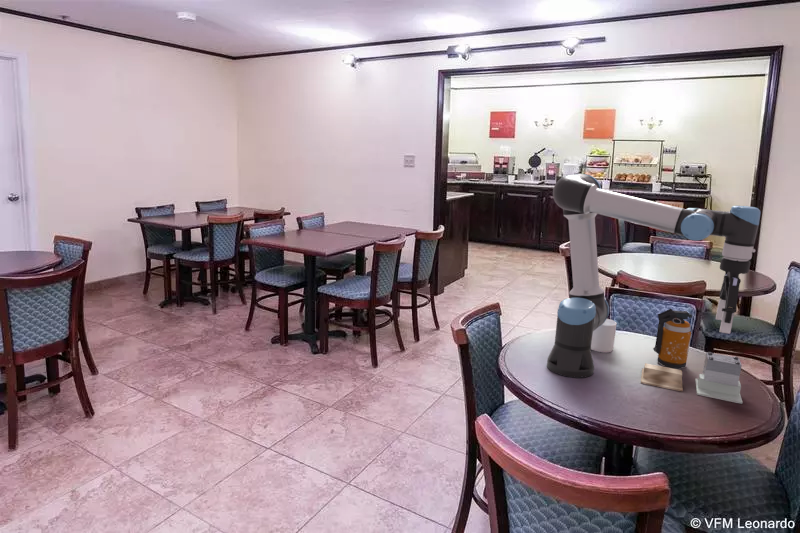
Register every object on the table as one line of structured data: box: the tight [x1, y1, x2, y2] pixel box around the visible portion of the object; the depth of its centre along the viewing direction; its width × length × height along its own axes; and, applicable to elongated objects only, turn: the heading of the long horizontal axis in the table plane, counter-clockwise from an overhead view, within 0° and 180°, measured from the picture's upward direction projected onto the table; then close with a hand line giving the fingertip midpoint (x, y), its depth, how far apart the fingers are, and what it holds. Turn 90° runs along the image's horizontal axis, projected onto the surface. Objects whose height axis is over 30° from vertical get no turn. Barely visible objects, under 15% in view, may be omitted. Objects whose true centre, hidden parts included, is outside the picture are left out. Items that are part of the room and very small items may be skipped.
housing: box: [702, 351, 742, 387], centre depth 167 cm, size 9×6×7 cm
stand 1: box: [640, 362, 684, 392], centre depth 175 cm, size 12×12×4 cm
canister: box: [652, 308, 693, 370], centre depth 186 cm, size 9×11×20 cm
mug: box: [591, 318, 618, 354], centre depth 201 cm, size 9×12×11 cm
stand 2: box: [694, 373, 743, 405], centre depth 168 cm, size 12×12×4 cm
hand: (722, 326), depth 165 cm, fingers open, 13 cm apart
